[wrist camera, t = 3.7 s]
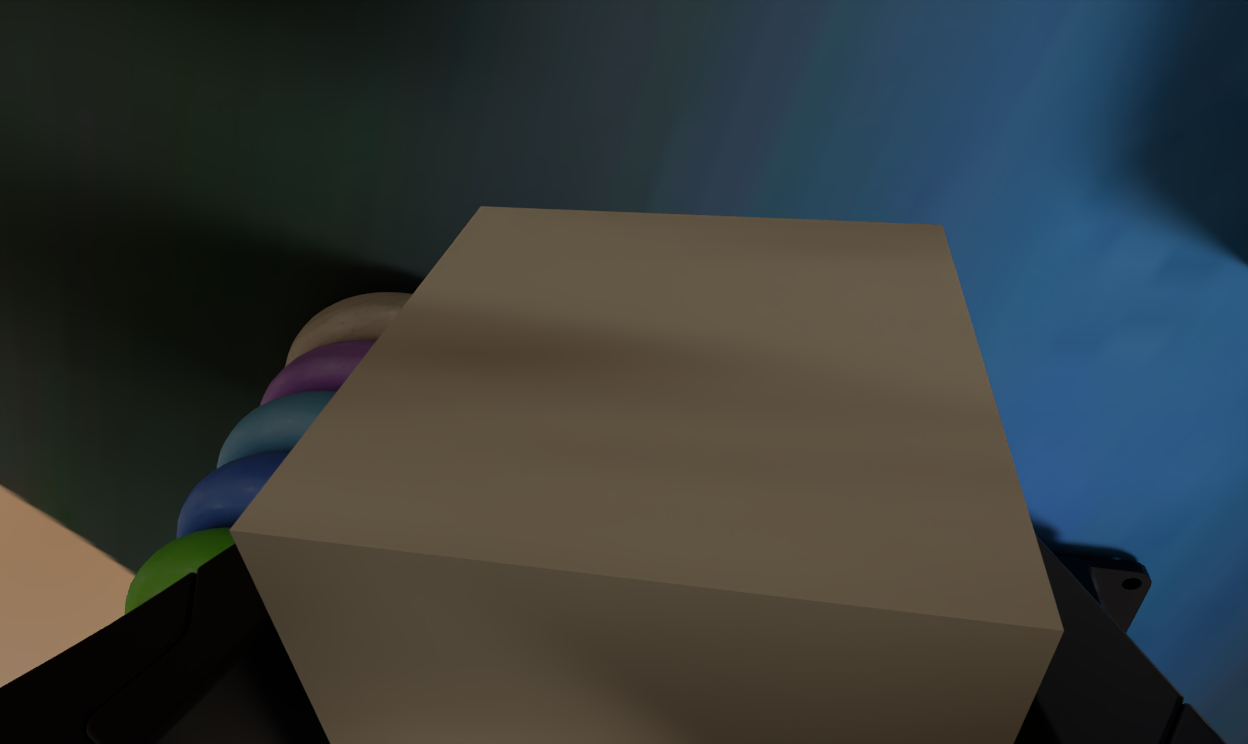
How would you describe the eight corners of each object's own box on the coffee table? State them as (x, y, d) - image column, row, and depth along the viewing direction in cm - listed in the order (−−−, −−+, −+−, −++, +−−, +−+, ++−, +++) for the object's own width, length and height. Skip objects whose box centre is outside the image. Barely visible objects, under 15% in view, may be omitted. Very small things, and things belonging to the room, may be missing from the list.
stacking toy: (370, 224, 21) (-637, 1226, 6) (608, 392, 23) (249, 1472, 8) (270, 392, 26) (-464, 1216, 11) (476, 523, 28) (88, 1379, 13)
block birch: (874, 554, 11) (909, 975, 7) (529, 516, 12) (393, 875, 8) (942, 224, 8) (1065, 630, 4) (480, 206, 9) (227, 530, 5)
